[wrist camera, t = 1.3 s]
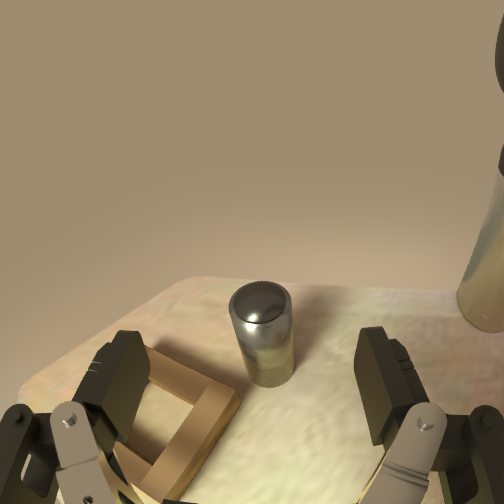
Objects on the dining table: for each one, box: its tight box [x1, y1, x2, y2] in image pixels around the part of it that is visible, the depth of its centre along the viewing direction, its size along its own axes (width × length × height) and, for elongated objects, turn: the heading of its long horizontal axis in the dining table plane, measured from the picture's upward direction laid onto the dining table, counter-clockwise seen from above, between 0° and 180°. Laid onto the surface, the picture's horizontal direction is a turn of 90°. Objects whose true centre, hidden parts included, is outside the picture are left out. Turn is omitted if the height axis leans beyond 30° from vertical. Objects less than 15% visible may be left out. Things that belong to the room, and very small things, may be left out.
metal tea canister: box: [229, 281, 294, 388], centre depth 27 cm, size 5×5×10 cm
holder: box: [114, 345, 242, 504], centre depth 25 cm, size 12×12×3 cm
